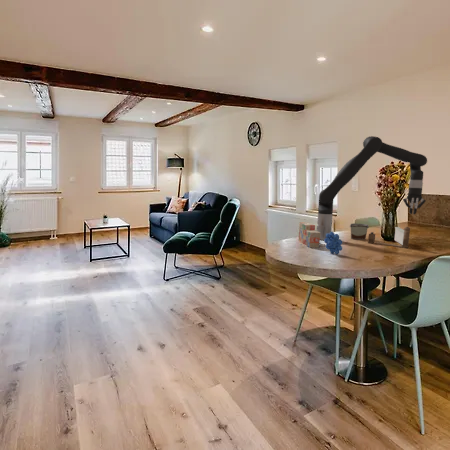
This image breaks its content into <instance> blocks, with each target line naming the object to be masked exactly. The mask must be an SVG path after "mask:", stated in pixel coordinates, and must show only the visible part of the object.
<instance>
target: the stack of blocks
mask: <svg viewBox="0 0 450 450" xmlns="http://www.w3.org/2000/svg"><path fill="white" fill-rule="evenodd" d="M298 224H299V226H298V241H299V242H300V243H301V244H303V245H305V246H306V247H308V248H312V249H313V248H317V249H319V248H320V241H321V240H320V232H318V231H317V229H316V224H314V223H311V222H306V221H305V222H299V223H298Z"/></svg>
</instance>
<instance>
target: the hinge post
mask: <svg viewBox="0 0 450 450" xmlns="http://www.w3.org/2000/svg"><path fill="white" fill-rule="evenodd" d="M403 230H404V237H403V245H402V246H403V247H401V248H403V249H409V242H410V232H411V228H410V227H409V226H405V227H404V229H403Z"/></svg>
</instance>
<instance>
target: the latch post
mask: <svg viewBox="0 0 450 450" xmlns="http://www.w3.org/2000/svg"><path fill="white" fill-rule="evenodd" d="M375 242H376V233H374V231H371V232H370V233H368V240H367V244H371V245H373V243H374V244H375Z"/></svg>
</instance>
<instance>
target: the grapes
mask: <svg viewBox="0 0 450 450" xmlns="http://www.w3.org/2000/svg"><path fill="white" fill-rule="evenodd" d="M323 241H324V242H323V243H325V248H326V249H327V250H329V253H331V254H333V255H334V254H335V255H338V254H340V252H342V250H343V246H342V245H343V240H342V239H341V238H340V235H339V234H338V233H335V232H333V231H331V232H330V234H329V233H327V234H326V238H325V239H324V240H323Z"/></svg>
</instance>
